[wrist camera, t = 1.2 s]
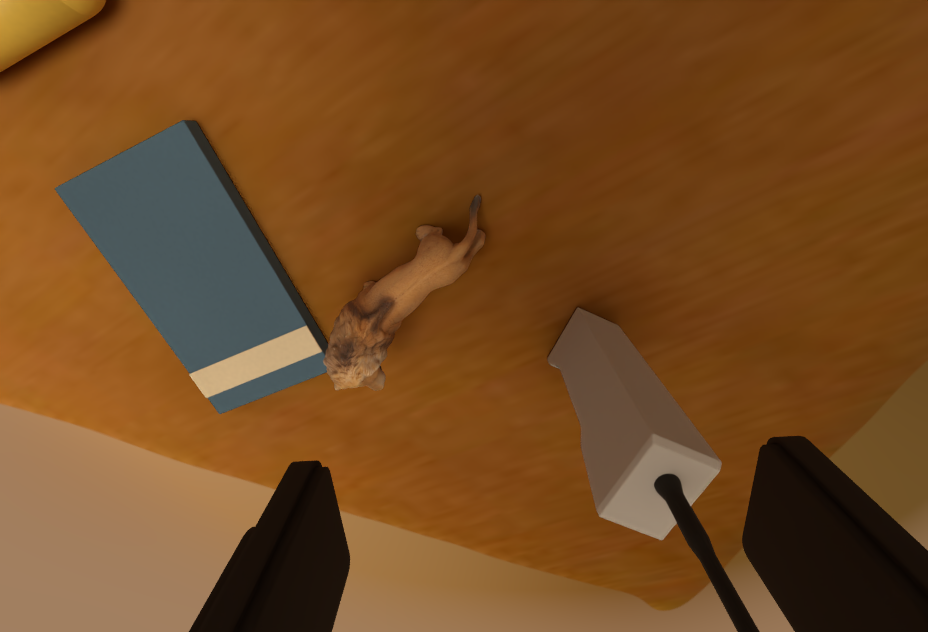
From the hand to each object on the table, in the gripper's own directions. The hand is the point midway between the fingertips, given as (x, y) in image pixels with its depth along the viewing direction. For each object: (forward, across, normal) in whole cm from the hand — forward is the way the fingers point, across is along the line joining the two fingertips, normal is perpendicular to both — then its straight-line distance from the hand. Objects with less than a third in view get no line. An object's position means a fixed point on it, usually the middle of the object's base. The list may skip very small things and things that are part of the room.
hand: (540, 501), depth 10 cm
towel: (+26, +22, +2) cm, 34 cm away
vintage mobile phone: (+26, -6, +9) cm, 28 cm away
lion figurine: (+26, +6, +2) cm, 27 cm away
